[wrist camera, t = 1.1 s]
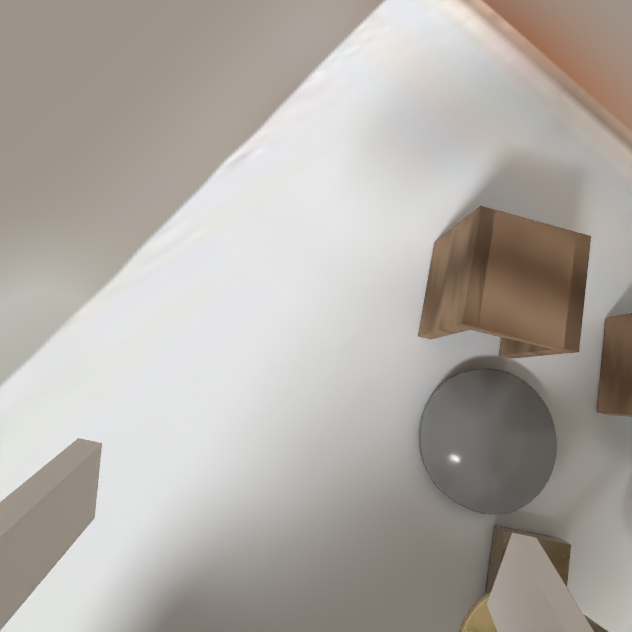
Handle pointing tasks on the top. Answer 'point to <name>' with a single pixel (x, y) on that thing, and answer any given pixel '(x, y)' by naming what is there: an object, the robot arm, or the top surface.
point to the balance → (478, 621)
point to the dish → (487, 441)
